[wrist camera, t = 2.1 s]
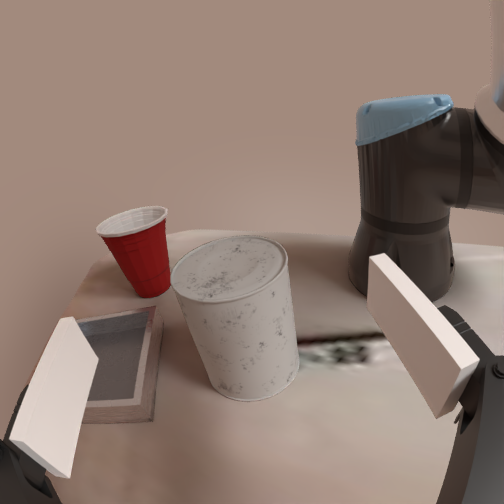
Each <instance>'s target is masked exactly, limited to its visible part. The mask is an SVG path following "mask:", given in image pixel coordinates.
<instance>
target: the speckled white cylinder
mask: <svg viewBox="0 0 504 504" xmlns="http://www.w3.org/2000/svg"><path fill="white" fill-rule="evenodd" d="M170 283H171V285H172V287H173V289H174V291H175V293H176V296H177V299H178V301H179V304H180V307H181V309H182V312H183V314H184V317H185V320H186V322H187V325H188V327H189V330H190V332H191V335H192V337H193V340H194V342H195V345H196V347H197V350H198V352H199V354H200V357H201V359H202V362H203V364H204V366H205V369H206V371H207V373H208V377H209V380H210V382H211V384H212V386H213V387H214V388H215V389H216V390H217V391H218V392H219V393H220V394H222V395H224V396H226V397H227V398H230V399H234V400H237V401H246V402H250V401H260V400H263V399H266V398H270V397H272V396H274V395H276V394H278V393H280V392H281V391H283V390H284V389H285V388H286V387H287V386H289V385H290V383H291V382H292V381H293V379H294V378H295V376H296V374H297V372H298V370H299V363H300V359H299V354H298V349H297V340H296V330H295V321H294V313H293V304H292V296H291V287H290V279H289V271H288V256H287V252H286V250H285V249H284V247H283V246H282V245H281V244H279V243H278V242H276V241H274V240H272V239H269V238H266V237H260V236H250V235H244V236H233V237H227V238H222V239H218V240H215V241H212V242H209V243H206V244H204V245H201V246H199V247H197V248H195V249H193V250H192V251H190V252H189V253H187V254H186V255H184V256H183V257H182V258H181V259H180V260H179V261H178V262H177V263H176V265H175V266H174V268H173V269H172V272H171V275H170Z"/></svg>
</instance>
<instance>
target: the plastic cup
mask: <svg viewBox="0 0 504 504" xmlns="http://www.w3.org/2000/svg"><path fill="white" fill-rule="evenodd" d="M167 212H168V210H167V209H166V208H164V207H160V206H149V207H141V208H137V209H132V210H128V211H126V212H122V213H119V214H117V215H115V216H112V217H110V218H108V219H106V220H105V221H103V222H102V223H100V224H99V225H98V227H97V228H96V231H97V233H98V235H99V236H101V237H102V238H103V240H104V242H105V243H106V245H107V246H108V248H109V250H110V251H111V252H112V254H113V256H114V258H115V259H116V261H117V263H118V264H119V266H120V268H121V269H122V271H123V273H124V274H125V276H126V278H127V279H128V280H129V281H130V283H131V284H132V286H133V288H134V289H135V291H136V292H137V293H138V294H139V296H141V297H143V298H151V297H155V296H158V295H160V294H162V293H164V292H165V291H166V290H168V289H169V287H170V285H171V283H170V275H171V274H170V268H169V257H168V250H167V242H166V234H165V223H166V221H165V219H166V217H167Z"/></svg>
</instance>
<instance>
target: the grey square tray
mask: <svg viewBox="0 0 504 504" xmlns="http://www.w3.org/2000/svg"><path fill="white" fill-rule="evenodd" d="M75 321H76V322H77V324H78V326H79V328H80V329H81V331H82V333H83V335H84V336H85V338H86V340H87V341H88V343H89V345H90V346H91V348H92V349H93V351H94V353H95V354H96V356H97V357H98V359H99V360H98V364H97V367H96V370H95V374H94V377H93V381H92V384H91V388H90V391H89V395H88V399H87V403H86V406H85V410H84V414H83V418H82V423H90V424H100V423H135V422H151V421H153V416H154V404H155V393H156V383H157V374H158V365H159V357H160V349H161V341H162V333H163V326H164V323H163V321H162V318H161V316H160V314H159V311H158V309H157V307H156V306H152V307H147V308H141V309H136V310H130V311H124V312H119V313H113V314H107V315H102V316H96V317H90V318H84V319H78V320H75Z"/></svg>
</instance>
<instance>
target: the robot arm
mask: <svg viewBox="0 0 504 504" xmlns="http://www.w3.org/2000/svg"><path fill="white" fill-rule="evenodd" d="M489 2H490V16H491V39H492V40H491V42H492V43H491V45H492V46H491V50H492V51H491V78H490V84H487V85H485V86H483V87H482V88H481V89H480V90H479V91H478V93H477V95H476V99H475V109H466V108H465V109H463V108H454V107H453V102H452V100H451V97H450V96H449V95H444V94H443V95H442V94H433V95H415V96H405V97H396V98H388V99H382V100H376V101H371V102H367V103H365V104H363V105H362V106H361V107H360V108H359V109H358V111H357V114H356V128H357V140H356V145H357V148H358V160H359V175H360V176H359V177H360V196H361V221H360V224H359V227H358V230H357V233H356V236H355V239H354V242H353V245H352V248H351V251H350V254H349V277H350V280H351V282H352V283H353V285H354V286H355V287H356V288H357V289H358V290H359V291H360V292H361V293H363V294H364V295H366V296H367V309H368V310H369V312H370V313H371V315H372V316H373V318H374V319H375V321H376V322H377V324H378V325H379V327H380V328H381V330H382V331H383V333H384V334H385V336H386V338H387V339H388V341H389V342H390V344H391V345H392V347H393V348H394V350H395V352H396V353H397V355H398V356H399V358H400V359H401V361H402V363H403V364H404V366H405V367H406V369H407V371H408V372H409V374H410V376H411V377H412V379H413V380H414V382H415V384H416V385H417V387H418V389H419V390H420V392H421V394H422V395H423V397H424V399H425V400H426V402H427V404H428V406H429V407H430V409H431V411H432V412H433V414H434V416H435V418H436V419H437V418H439V417H441V416H443V415H445V414H447V413H449V412H451V411H453V410H454V408H455V406H456V405H457V403H458V401H459V402H460V403H461V405H462V406H463V407H462V409H461V411H460V412H459V414H458V416H457V417H456V419H455V421H454V423H455V424H456V423H457V422H458V420H459V423H458V428H457V433H456V437H455V442H454V446H453V450H452V454H451V458H450V461H449V465H448V469H447V472H446V475H445V479H444V482H443V485H442V488H441V491H440V494H439V497H438V500H437V503H436V504H504V356H495V355H494V354H493V353H492V352H491V351H490V349H489V348H488V347H487V346H486V345H485V343H484V342H483V341H482V340H481V339H480V338H479V336H478V335H477V334H476V333H475V332H474V331H473V330H472V329H471V327H470V326H469V325H468V324H467V323H466V322H464V320H463V318H462V317H461V316H460V315H459V314H458V313H457V312H456V311H454V310H453V309H451V308H449V307H447V306H445V305H444V306H442V307H439V308H436V307H435V306H434V305H433V304H432V302H433V301H435V300H437V299H439V298H441V297H442V296H443V295H444V294H446V292H447V291H448V290H449V288H450V287H451V284H452V280H453V275H454V269H455V263H454V257H453V250H452V243H451V237H450V232H449V215H450V208H451V207H455V208H464V209H472V210H480V211H486V212H492V213H498V214H504V0H489ZM98 360H99V359H98V357H97V356H96V354H95V353H94V351H93V349H92V348H91V346H90V345H89V343H88V341H87V340H86V338H85V336H84V335H83V333H82V331H81V329H80V328H79V326H78V324H77V322H76V321H75V319H74V317H66V318H60V320H59V322H58V324H57V326H56V328H55V330H54V332H53V334H52V336H51V338H50V340H49V342H48V344H47V346H46V348H45V350H44V353H43V355H42V357H41V359H40V361H39V363H38V366H37V368H36V370H35V372H34V375H33V377H32V379H31V382H30V384H29V385H27V386H26V387H25V389H24V390H23V391H22V392H21V394H20V397H19V399H18V401H17V405H16V406H15V409H14V413H13V414H12V417H11V420H10V422H9V425H8V428H7V431H6V434H5V437H4V440H3V441H2V440H1V439H0V504H62V503H61V501H60V499H59V497H58V495H57V493H56V491H55V489H54V488H53V486H52V483H51V481H50V480H49V478H48V477H47V476H46V475H45V472H46V470H47V471H49V472H50V473H52V474H53V475H54V476H57V477H63V478H70V476H71V470H72V465H73V459H74V454H75V449H76V445H77V440H78V436H79V431H80V427H81V423H82V418H83V414H84V410H85V406H86V403H87V399H88V395H89V391H90V388H91V384H92V381H93V377H94V374H95V370H96V367H97V364H98Z"/></svg>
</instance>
